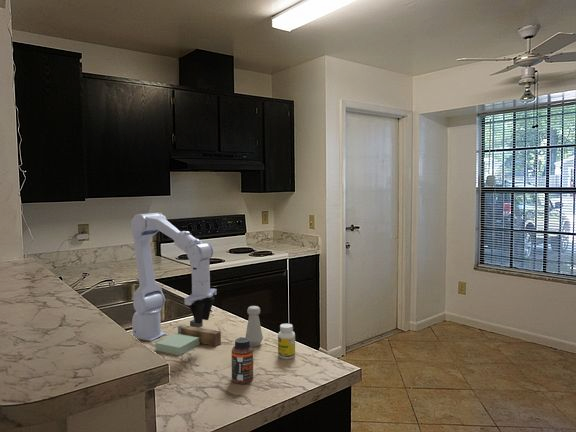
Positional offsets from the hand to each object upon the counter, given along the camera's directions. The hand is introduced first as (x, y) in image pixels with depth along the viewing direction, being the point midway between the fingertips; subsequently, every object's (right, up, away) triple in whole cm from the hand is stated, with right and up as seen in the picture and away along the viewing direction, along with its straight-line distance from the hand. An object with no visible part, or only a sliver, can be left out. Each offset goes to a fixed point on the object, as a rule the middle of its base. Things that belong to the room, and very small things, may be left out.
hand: (201, 321), depth 141 cm
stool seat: (-9, -9, +2) cm, 13 cm away
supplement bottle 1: (+16, -11, -21) cm, 29 cm away
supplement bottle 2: (+28, -10, -5) cm, 30 cm away
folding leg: (-3, -9, +8) cm, 12 cm away
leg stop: (-7, -8, +23) cm, 25 cm away
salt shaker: (+17, -9, +4) cm, 20 cm away
